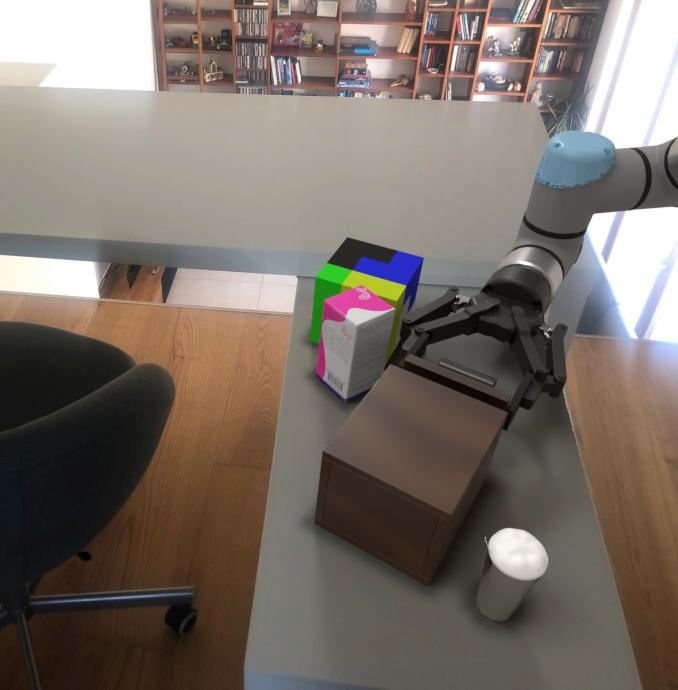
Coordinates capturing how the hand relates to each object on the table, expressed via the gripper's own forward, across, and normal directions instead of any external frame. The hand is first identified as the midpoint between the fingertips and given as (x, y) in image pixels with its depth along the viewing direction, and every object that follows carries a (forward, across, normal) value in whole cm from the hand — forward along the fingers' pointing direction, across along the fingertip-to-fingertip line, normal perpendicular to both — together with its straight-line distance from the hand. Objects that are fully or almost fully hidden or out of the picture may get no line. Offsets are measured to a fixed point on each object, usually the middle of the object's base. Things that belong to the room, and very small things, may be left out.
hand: (450, 397), depth 71 cm
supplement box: (-3, +13, -7) cm, 15 cm away
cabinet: (+10, 0, -7) cm, 12 cm away
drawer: (+3, 0, -6) cm, 7 cm away
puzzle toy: (-12, +16, -7) cm, 21 cm away
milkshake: (+15, -11, -7) cm, 20 cm away
